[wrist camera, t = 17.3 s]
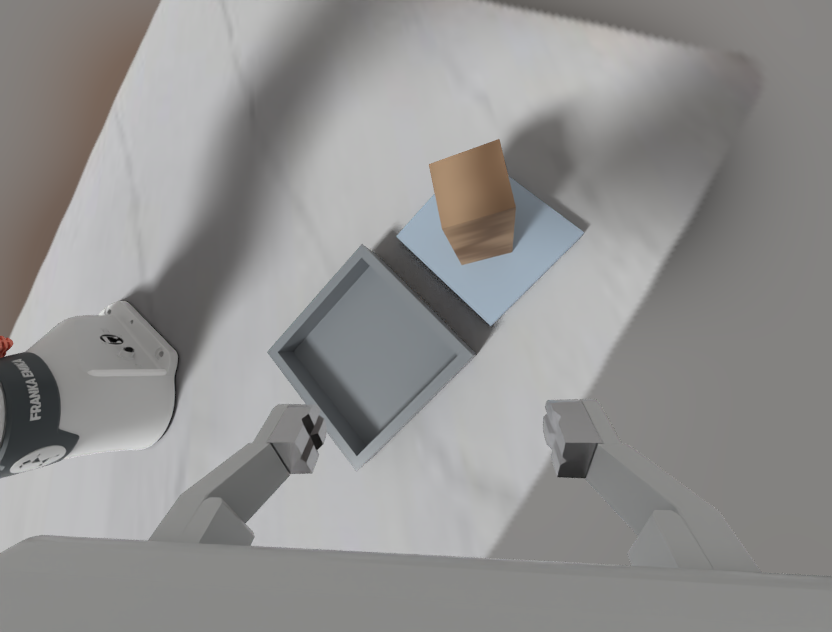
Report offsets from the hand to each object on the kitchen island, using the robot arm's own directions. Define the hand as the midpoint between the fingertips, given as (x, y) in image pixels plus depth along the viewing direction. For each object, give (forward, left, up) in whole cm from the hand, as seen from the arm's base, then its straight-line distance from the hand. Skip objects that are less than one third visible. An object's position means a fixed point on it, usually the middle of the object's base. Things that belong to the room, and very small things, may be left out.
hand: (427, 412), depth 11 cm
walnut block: (-9, +10, -19) cm, 23 cm away
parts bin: (-9, -7, -20) cm, 23 cm away
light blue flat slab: (-9, +10, -20) cm, 24 cm away
